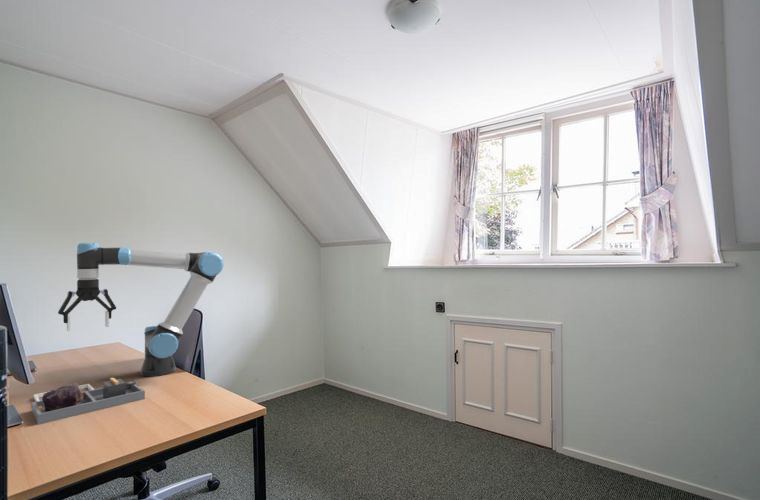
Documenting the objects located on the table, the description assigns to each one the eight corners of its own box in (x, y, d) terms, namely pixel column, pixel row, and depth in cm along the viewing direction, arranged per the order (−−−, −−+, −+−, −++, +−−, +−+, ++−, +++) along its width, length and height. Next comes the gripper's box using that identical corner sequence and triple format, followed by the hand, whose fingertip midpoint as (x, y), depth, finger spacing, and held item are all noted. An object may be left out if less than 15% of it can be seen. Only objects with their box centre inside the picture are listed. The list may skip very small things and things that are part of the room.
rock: (46, 411, 152) (44, 419, 144) (41, 389, 151) (39, 396, 143) (84, 399, 159) (85, 406, 151) (80, 378, 158) (80, 384, 150)
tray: (88, 387, 178) (88, 383, 178) (97, 396, 166) (97, 392, 166) (33, 398, 165) (33, 394, 165) (39, 408, 153) (39, 404, 153)
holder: (132, 389, 174) (132, 371, 175) (144, 398, 163) (144, 379, 163) (31, 411, 151) (31, 390, 151) (37, 424, 139) (37, 401, 139)
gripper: (119, 277, 185) (119, 323, 185) (49, 280, 167) (49, 331, 167) (124, 277, 179) (124, 325, 179) (52, 280, 162) (52, 334, 161)
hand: (88, 328), depth 173 cm, fingers open, 13 cm apart
